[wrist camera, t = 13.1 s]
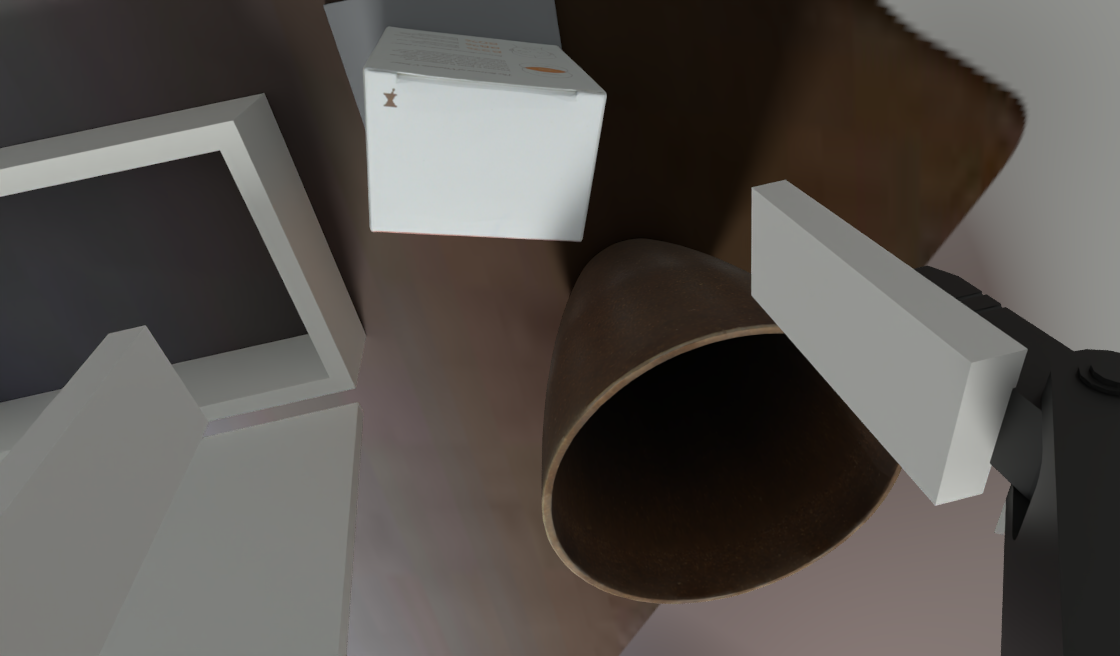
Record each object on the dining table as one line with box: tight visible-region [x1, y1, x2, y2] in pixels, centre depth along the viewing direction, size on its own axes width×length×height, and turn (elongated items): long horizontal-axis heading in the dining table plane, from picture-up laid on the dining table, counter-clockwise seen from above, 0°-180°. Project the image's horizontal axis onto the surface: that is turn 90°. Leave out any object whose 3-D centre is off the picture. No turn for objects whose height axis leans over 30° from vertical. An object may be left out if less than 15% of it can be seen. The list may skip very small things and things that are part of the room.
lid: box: [99, 402, 364, 656], centre depth 27 cm, size 22×14×2 cm
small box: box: [363, 26, 607, 242], centre depth 25 cm, size 8×6×10 cm
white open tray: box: [0, 93, 366, 463], centre depth 30 cm, size 22×14×5 cm, turn 99°
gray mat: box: [323, 0, 562, 126], centre depth 30 cm, size 10×10×1 cm
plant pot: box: [542, 238, 902, 604], centre depth 31 cm, size 15×15×16 cm
